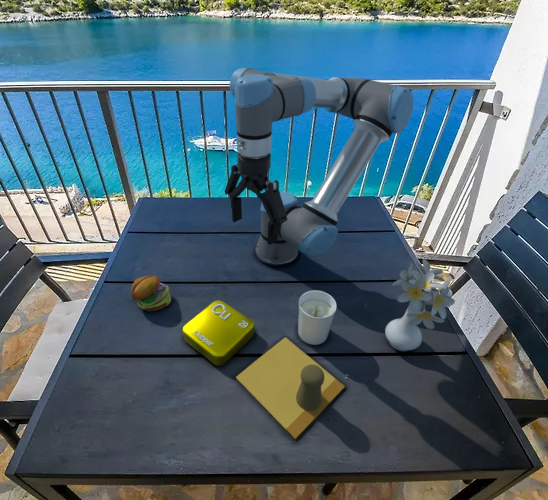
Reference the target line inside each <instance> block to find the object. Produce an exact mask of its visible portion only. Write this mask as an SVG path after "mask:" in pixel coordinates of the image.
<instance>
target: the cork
mask: <svg viewBox="0 0 548 500" xmlns="http://www.w3.org/2000/svg"><path fill="white" fill-rule="evenodd" d="M323 382H324V373H323V371H322V369H321V368H320V367H318V366H316V365H307V366H305V367H304V368H303V369H302V371H301V384H300V386H299V389H298V391H297V394H296V401H297V404H298V405H299V406H300V407H301V408H302V409H304V410H307V411H314V410H316V409H318V408H319V406H320V405H321V402H322V399H321V385H322V384H323Z"/></svg>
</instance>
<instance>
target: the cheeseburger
mask: <svg viewBox="0 0 548 500" xmlns="http://www.w3.org/2000/svg"><path fill="white" fill-rule="evenodd" d="M130 294H131V297H132V299H133V300H135V302H137V306H138V307H139V309H142V310H144V311H145V312H156V311H159V310H162V309H164V308H165V307H168V306H169V305H170V304H171V302H172V297H171V292H170V287H169V286H168V285H167V284H166V283H162V282H161V279H160V278H159V277H158V276H156V275H155V274H152V275H151V274H150V275H146V276H142V277H141V276H140V277H138V278H137V279H135V280H134V282H133V283H132V285H131V289H130Z"/></svg>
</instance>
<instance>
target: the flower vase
mask: <svg viewBox="0 0 548 500" xmlns="http://www.w3.org/2000/svg"><path fill="white" fill-rule="evenodd" d="M416 265H417V267H418V268H419V270H420V271H421V272H422V274H423V276H422V274H421V273H420V272H419V271H417V270H415V269H413V266H414V262H411V263H410V265H409V266H408V269H407V270H406V269H402V270H401V271H399V277H400V279H397V280H396V281H394V282H393V283H392V284H391V286H392V287H393V286H394V287H395V286H396V287H399V286H400V287H401V289H402V290H404V291H405V292H404V293H403V292H402V293H401V294H399V295H398V296H397V299H396V300H397V302H398V303H407V302H409V303H408V306H407V308H406V310H405V312H404V314H403V316H402V317H400V318H394V319H392V320H390V321H389V322H388V323H387V325H385V328H384V333H385V334H384V335H385V337H386V339H387V341H388V342H389V344H390V345H391V347H392V348H394V349H395V350H397V351H400V352H408V351H413V350H416V349H417V348H419V347H420V346H421V344H422V342H423V333H422V330H421V329H420V327H419V326H418V325H419V324H421V323H423V325H424V326H425V327H426V328H427V329H429V330H434V329H435V324H434V322H435V323H439V324H440V323H441V324H442V323H445V319H446V318H447V311H446V308H445V307H447V308H450V307H451V306H453V305H454V304H455V302H456V300H455V299H454V298H452V297H453V292H452V289H450V284H451V281H452V276H451V275H449V277H448V278H446V279H444V278H443V277H442V276H440V275H443V273H444V271H443V269H441V268H436V267H435V268H431V265H430V263H429V261H428V260H427V259H422V264H421V263H419V262H416ZM412 277H414V279H413V278H412ZM434 280H437V281H440V282H437V281H434ZM441 282H443V283H441ZM432 292H435V293H434V294H433V296H432V295H431V294H430V293H432ZM437 292H438V293H437ZM427 302H432V307H431V311H427V310H426V303H427ZM437 313H438V315H439V317H438V316H436V315H437Z"/></svg>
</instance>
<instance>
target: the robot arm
mask: <svg viewBox="0 0 548 500" xmlns="http://www.w3.org/2000/svg"><path fill="white" fill-rule="evenodd" d="M229 90H230V93H231V95H232V96H233V97H234V105H235V123H236V124H235V126H236V127H235V128H236V148H237V149H236V151H237V155H236V159H237V162H236V163H235V164H232V165H231V167H230V169H231V170H230V175H229V178H228V180H227V183H226V186H225V189H224V195H228V199H229V200H230V208H231V219H232V222H233V223H236V222H238V221H240V220H242V219H243V209H242V207H243V206H242V197H241V195H242V193H243V192H244V191H245V190H246V189H247V190H248V191H251V192H252V193H253V194H255V195H256V197H257V198H258V199H259V200H260V201H261V203H260V204H261V205H260V209H259V210H260V235H259V238H258V239H257V243H256V245H255V250H254V251H255V256H256V259H257V260H258V261H260V262H261V263H263V264H264V265H267V266H270V267H284V266H285V267H286V266H288V265H290V264H293V263H294V262H295V261H296V260H297V258H298V256H299V252H300V253H303V254H305V255H306V256H308V257H311V258H315V257H319V256H321V255H324V254H325V253H326V252H328V251H329V250H330V249H331V247H332V246H333V245H334V244H335V242H336V241H337V238H338V235H339V230H338V228H337V227H336V226H337V225H338V223H339V218H338V213H339V212H340V210H341V208H342V206H343V205H344V203H345V202H346V200H347V199H348V196H349V195H350V193H351V192H352V190H353V188H354V187H355V185H356V183H357V182H358V181H359V178H360V177H361V176H362V174H363V172H364V170H365V169H366V167H367V165H368V164H369V162H370V161H371V159H372V157H373V156H374V154H375V153H376V151H377V149H378V147H380V144H382V143H385V142H388V141H389V140H390V138H391V137H392V136H393V134H395V135H396V134H400V133H402V132H403V131H404V130H405V129H406V128H407V126H408V124H409V123H410V120H411V117H412V114H413V112H414V111H413V110H414V96H413V92H412V91H411V90H410V89H409V88H407V87H403V86H400V85H398V84H391V83H388V82H387V83H386V82H383V81H382V82H381V81H377V80H372V79H370V78H369V79H368V78H364V77H363V78H361V77H336V76H334V77H330V78H329V79H323V78H316V77H308V76H301V75H292V74H287V73H279V72H278V73H277V72H269V71H264V70H263V71H262V70H257V69H253V68H251V67H239V68H237V69H236V70H234V72H233V73H232V74H231V77H230V79H229ZM313 109H323V110H324V111H326V112H328V113H335V114H338V115H341V116H344V117H346V118H349V119H351V120H353V121H352V125H353V131H352V132H351V133H350V135H349V137H348V139H347V141H346V142H345V144H344V145H343V147H342V149H341V151H340V153H339V154H338V156H337V157H336V159H335V161H334V163H333V164H332V166H331V167H330V169H329V170H328V172H327V174H326V176H325V178H324V179H323V181H322V183H321V184H320V186H319V188H318V190H317V191H316V192H315V195H314V196H313V198H312V199H311V200H308V201H305V202H304V203H303V205H302V207H301V206H299V205H298V203H299V201H298V197H297V195H296V194H294V193H291V192H287V191H280V183H279V181H278V180H277V179H275V180H271V179H269V175H268V174H269V172H270V170H271V165H272V164H271V161H272V159H271V158H272V155H271V152H272V134H273V133H272V129H273V123H275V122H278V121H281V120H285V119H290V118H293V117H299V116H301V115H303V114H305V113H309V112H310V111H311V110H313ZM240 178H241V179H240ZM239 180H240V181H239Z"/></svg>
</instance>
